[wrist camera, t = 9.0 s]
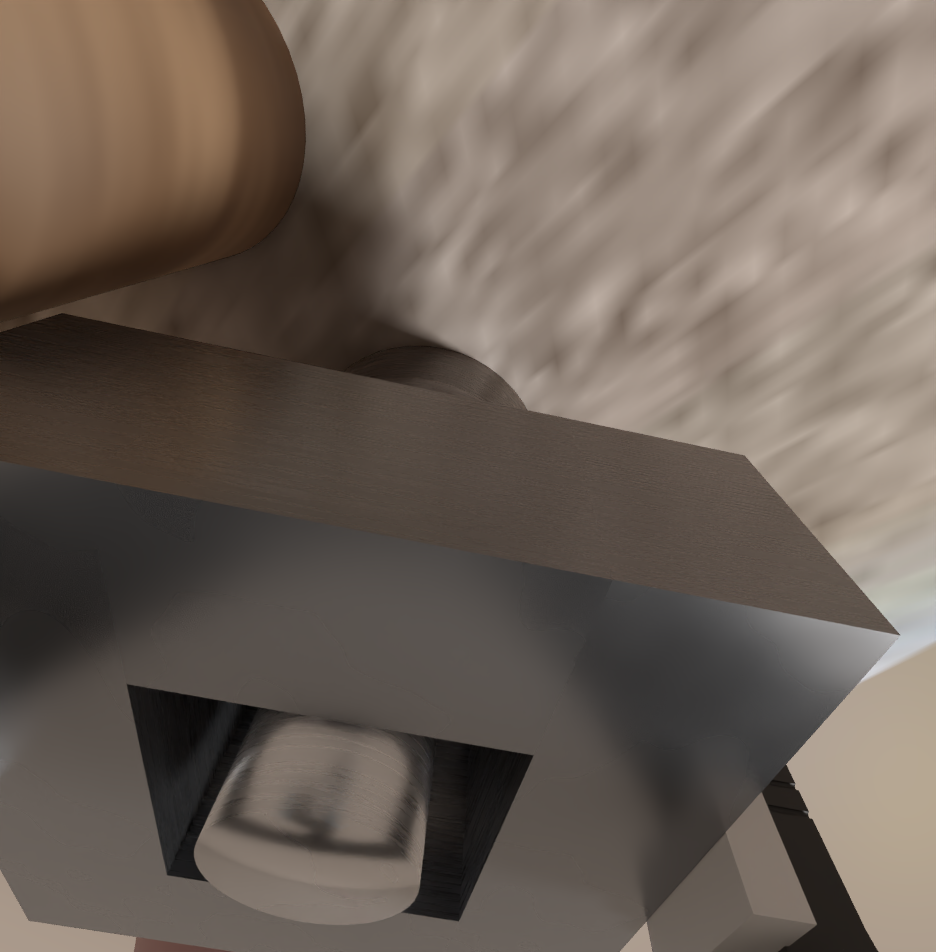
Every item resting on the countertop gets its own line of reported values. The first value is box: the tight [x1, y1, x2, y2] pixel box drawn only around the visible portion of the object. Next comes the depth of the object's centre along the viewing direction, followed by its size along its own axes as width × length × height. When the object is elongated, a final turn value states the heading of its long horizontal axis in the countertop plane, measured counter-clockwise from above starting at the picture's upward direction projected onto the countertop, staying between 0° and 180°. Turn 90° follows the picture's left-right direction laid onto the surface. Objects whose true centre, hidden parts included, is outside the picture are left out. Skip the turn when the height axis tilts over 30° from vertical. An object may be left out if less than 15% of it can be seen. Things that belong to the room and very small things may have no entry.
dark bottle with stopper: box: [194, 346, 527, 925], centre depth 11 cm, size 7×7×11 cm
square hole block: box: [0, 313, 901, 952], centre depth 8 cm, size 10×10×4 cm
